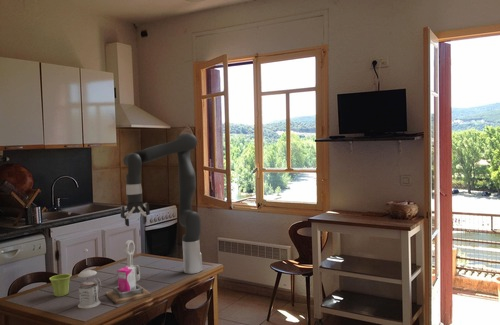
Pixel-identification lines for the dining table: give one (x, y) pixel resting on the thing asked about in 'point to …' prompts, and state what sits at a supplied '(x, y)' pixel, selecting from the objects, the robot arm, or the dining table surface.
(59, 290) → the plant pot
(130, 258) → the engine component
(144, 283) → the dining table surface
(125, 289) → the supplement box
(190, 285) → the dining table surface
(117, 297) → the wooden board with frame
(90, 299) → the french press
